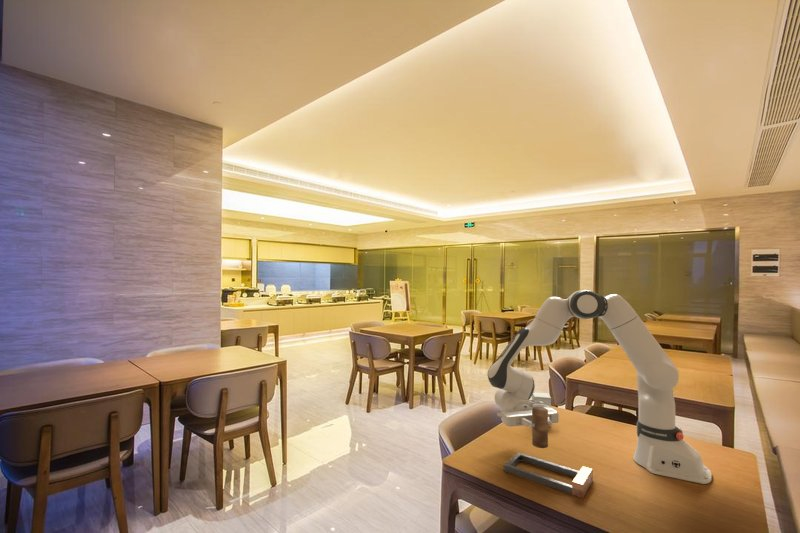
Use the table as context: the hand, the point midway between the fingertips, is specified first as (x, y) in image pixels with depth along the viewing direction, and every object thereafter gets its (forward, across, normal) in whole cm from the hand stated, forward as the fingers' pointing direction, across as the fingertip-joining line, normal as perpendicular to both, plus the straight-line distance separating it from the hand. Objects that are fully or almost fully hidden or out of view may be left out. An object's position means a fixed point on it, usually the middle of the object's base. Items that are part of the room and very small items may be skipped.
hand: (541, 425), depth 130 cm
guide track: (+1, +1, +17) cm, 17 cm away
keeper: (-1, 0, +7) cm, 7 cm away
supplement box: (-42, +25, +17) cm, 52 cm away
